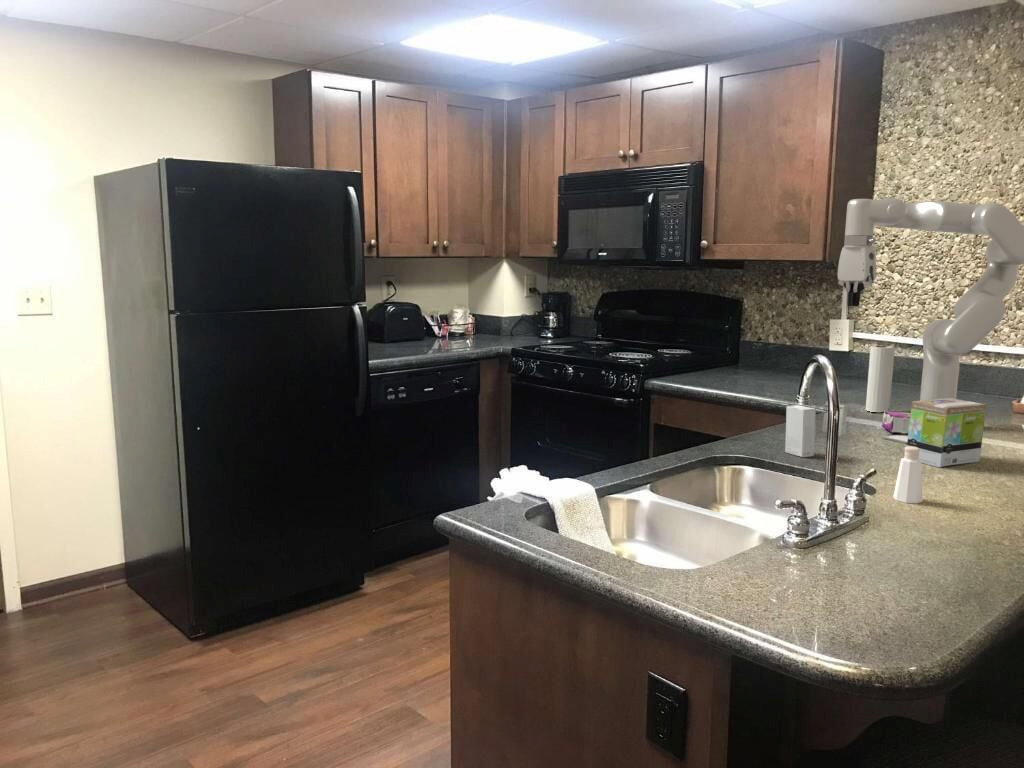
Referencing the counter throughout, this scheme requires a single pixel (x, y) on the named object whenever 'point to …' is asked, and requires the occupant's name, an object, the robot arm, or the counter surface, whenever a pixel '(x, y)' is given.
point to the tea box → (947, 431)
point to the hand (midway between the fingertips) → (853, 305)
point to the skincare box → (800, 430)
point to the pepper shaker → (909, 477)
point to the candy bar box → (896, 422)
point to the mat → (898, 438)
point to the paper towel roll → (879, 378)
